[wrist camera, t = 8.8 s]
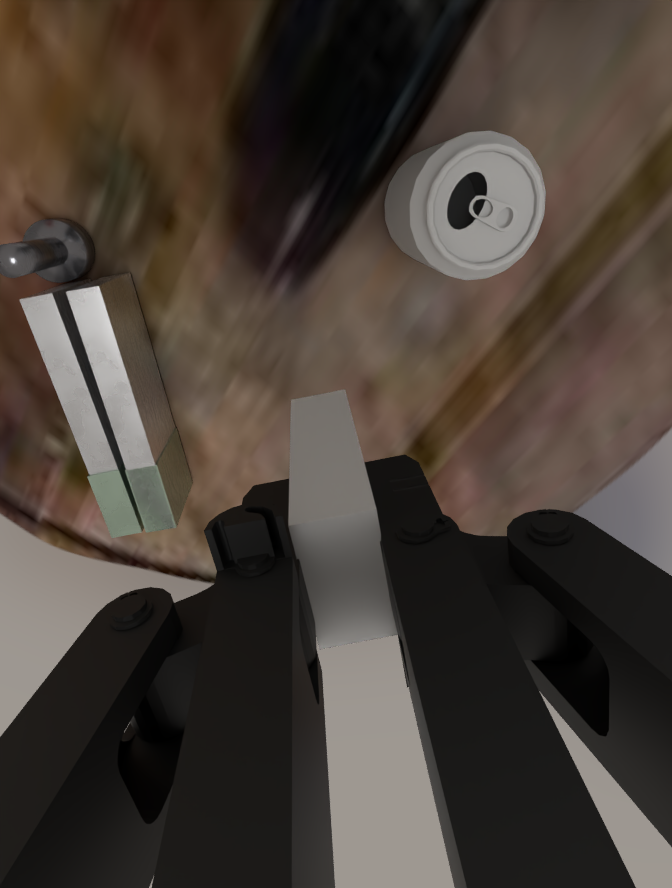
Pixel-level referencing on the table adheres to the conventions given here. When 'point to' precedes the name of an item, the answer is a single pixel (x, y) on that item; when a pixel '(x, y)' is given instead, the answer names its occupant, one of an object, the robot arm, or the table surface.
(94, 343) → the tong jaw
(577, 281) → the table surface
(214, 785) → the robot arm
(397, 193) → the can
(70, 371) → the base
